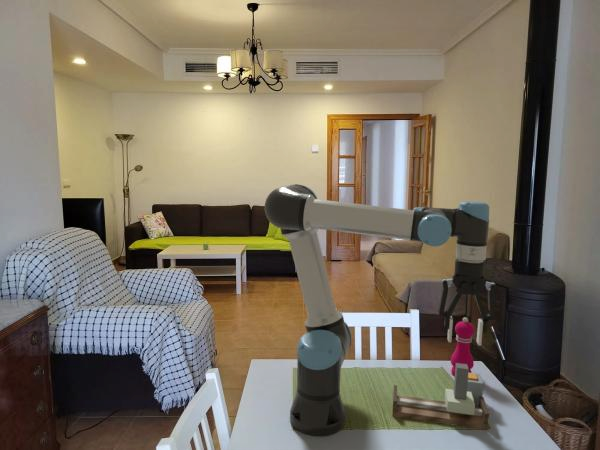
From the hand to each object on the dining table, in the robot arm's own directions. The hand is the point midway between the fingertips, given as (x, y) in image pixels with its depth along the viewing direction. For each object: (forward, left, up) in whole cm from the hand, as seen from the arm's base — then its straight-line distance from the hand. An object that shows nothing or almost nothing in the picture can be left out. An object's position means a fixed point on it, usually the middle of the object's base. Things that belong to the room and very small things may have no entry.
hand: (463, 341), depth 121 cm
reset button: (+4, +9, -20) cm, 22 cm away
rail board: (-5, 0, -22) cm, 23 cm away
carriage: (0, 0, -19) cm, 19 cm away
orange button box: (+4, +8, -22) cm, 24 cm away
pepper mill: (+4, +26, -22) cm, 35 cm away
